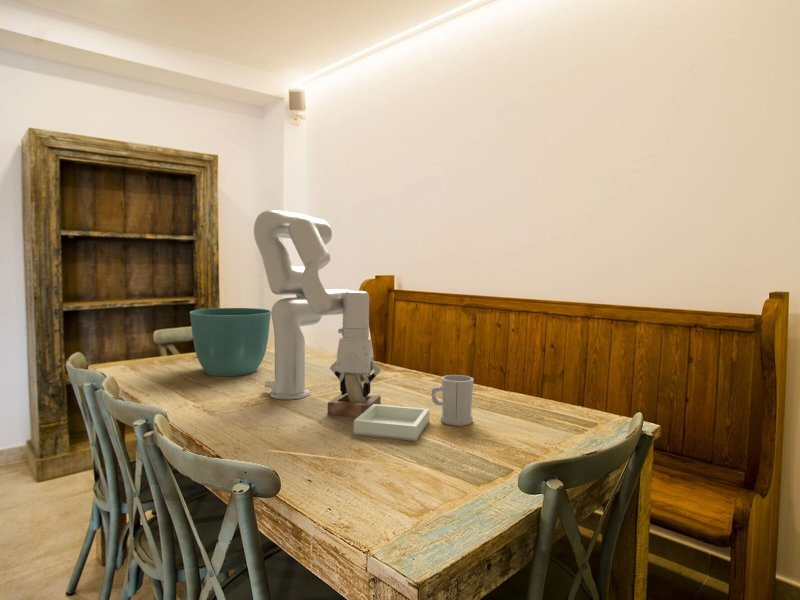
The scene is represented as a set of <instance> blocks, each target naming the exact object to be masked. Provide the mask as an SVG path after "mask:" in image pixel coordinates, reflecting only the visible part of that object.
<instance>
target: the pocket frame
mask: <svg viewBox="0 0 800 600" xmlns="http://www.w3.org/2000/svg"><path fill="white" fill-rule="evenodd" d="M365 398H366V402H365V403H353V402H350V399H349V396H348V394H347V393H346V394H345V395H341V393H340V394H338V395H337V396H335V397H334V398H331V400H329V401H328V402H327V415H329V416H331V415H332V416H341V417H350V418H357V417H358V416H360V415H361V414H362V413H363V412H365V411H366V410H367V409H368V408H369V407H371V406H372V405H373V404H379V405H382V404H381V400H382V399H381V398H382V397H381V395H379V394H369V395H368V396H366V397H365Z"/></svg>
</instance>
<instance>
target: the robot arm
mask: <svg viewBox="0 0 800 600" xmlns="http://www.w3.org/2000/svg"><path fill="white" fill-rule="evenodd" d="M332 232H333V231H332V228H331V226H330V224H329V223H328V222H327V221H326V220H325V219H321V218H318V217H313V216H310V215H306V214H304V213H303V214H302V213H297V212H292V211H291V212H289V211H284V210H274V209H272V210H264V211H262V212H260V213H259V214H258V215H257V216H256V218H255V221H254V224H253V236H254V241H255V243H256V246H257V249H258V251H259V252H260V256H261V258H262V264H263V267H264V271H265V275H266V278H267V282H268V286H269V289H270V291H271V293H273V294H275V295H277V296H294V295H295V297H285V298H284V297H283V298H280V299H279V300H277V301H275V302H274V304H273V305H272V307H271V310H270V311H271V320H272V325H273V333H274V334H273V335H274V380H273V381H272V380H265V382H264V388H270V389H271V390H270V392H269V397H270V398H273V399H276V400H285V401H287V400H288V401H289V400H298V399H300V400H301V399H303V398H306V397H308V396H309V395H310V392H311V391H310V390H309V389H308V388H306V387H305V386H306V383H305V382H306V341H305V340H306V339H305V336H304V334H303V332H302V330H301V327H306V326H314V325H317V324H318V323H319V322H320V321H322V318H323V317H324V316H334V315H342V327H340V328H339V329H338V331H337V332H338V334H341V336H342V337H339V341H338V346H337V354H336V360H335V361H334V363H332V364H331V366H330V367H329V369H330V371H332V372H333V374H334V375H335V377H336V378H337V379H338V381H339V382H340V383H339V390H340V394H341V395H345V394H346V393H347V390H346V386H345V375H346V373H352V374H362V375H363V377H364V378H363V380H364V383H362V386H363V396H364V397H366V396H368V395H370V393H371V382H372V381H373V380H374V379H375V378H376V377H377V376H378V375H379V374H380V373H382V369H381V368H380V367H379V365H377V363H376V362H375V361H374V349H373V342H372V338H370V336H369V334H370V333H369V332H370V327H369V326H370V295H369V293H368V292H367V291H365V290H350V289H344V288H331V289H330V288H329V289H325V287H324V286H323V283H322V281H321V278H320V275H319V271H320V270H322V269H323V268H325V267H326V266H327V265H328V264H329V262H330V261H331V254H330V253H329V251H328V249H327V247H326V245H328V244H329V243H330V242H331V240H332V236H333V234H332ZM279 238H282V239H283V238H286V239H290V240H292V241H291V242H292V243H293V245H294V247H295V250H296V251H297V253H298V256H299V258H300V260H301V262H302V264H303V266H294V265H293V264H292V262H291V258H290V255H289V251H288V250H287V248H286V247H285V245H284V244H283V242H282V241H280V239H279ZM370 371H371V372H372V371H374V372H373V373H372V374H371V373H370Z"/></svg>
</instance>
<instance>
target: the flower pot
mask: <svg viewBox="0 0 800 600" xmlns="http://www.w3.org/2000/svg"><path fill="white" fill-rule="evenodd" d="M271 311H272V310H270V309H266V308H265V309H264V308H251V307H250V308H249V307H219V308H218V307H217V308H202V309H195V310H191V311H189V318H190V324H191V325H190V326H191V334H192V340H193V341H192V342H193V346H194V351H195V355H196V358H197V359H198V362H199V364H200V366H201V368H202V369H203V370H204V371H205V373H206V374H207V375H210V376H213V377H214V376H217V377H237V375H238V376H244V374H245V375H248V374H253V373H255V372H256V371H257V370H258V369H259V367H260V365H261V364H262V362H263V361H264V358H265V355H266V352H267V347H268V342H269V341H268V340H269V334H270V333H269V332H270V323H271V317H272V314H271ZM254 371H255V372H254ZM252 372H253V373H252Z"/></svg>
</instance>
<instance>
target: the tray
mask: <svg viewBox="0 0 800 600" xmlns="http://www.w3.org/2000/svg"><path fill="white" fill-rule="evenodd" d="M429 423H430V408H423V407H412V406H399V405H390V404H381V405H379V404H373V405H372V406H371V407H369V408H368V409H367V410H366V411H365V412H363V413H362V414H361V415H360V416H358V417H355V419H354V420H353V435H355V436H362V437H364V436H365V437H373V438H382V439H393V440H402V441H411V442H417V441H418V439H419V438H420V436H421V435H422V434H423V432H424V430H425V429H426V427H427V426H428V425H429Z"/></svg>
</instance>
